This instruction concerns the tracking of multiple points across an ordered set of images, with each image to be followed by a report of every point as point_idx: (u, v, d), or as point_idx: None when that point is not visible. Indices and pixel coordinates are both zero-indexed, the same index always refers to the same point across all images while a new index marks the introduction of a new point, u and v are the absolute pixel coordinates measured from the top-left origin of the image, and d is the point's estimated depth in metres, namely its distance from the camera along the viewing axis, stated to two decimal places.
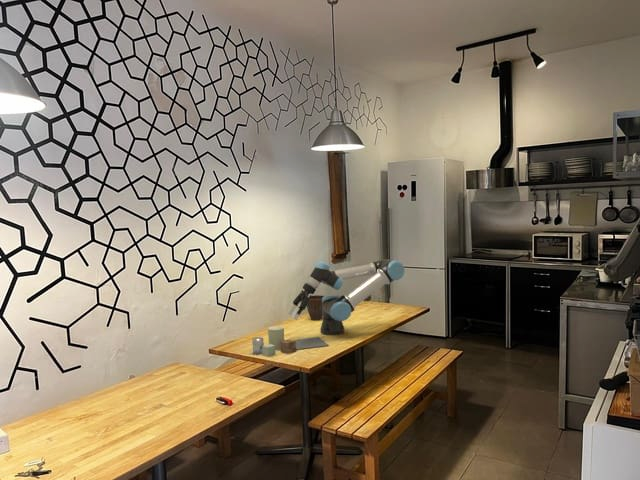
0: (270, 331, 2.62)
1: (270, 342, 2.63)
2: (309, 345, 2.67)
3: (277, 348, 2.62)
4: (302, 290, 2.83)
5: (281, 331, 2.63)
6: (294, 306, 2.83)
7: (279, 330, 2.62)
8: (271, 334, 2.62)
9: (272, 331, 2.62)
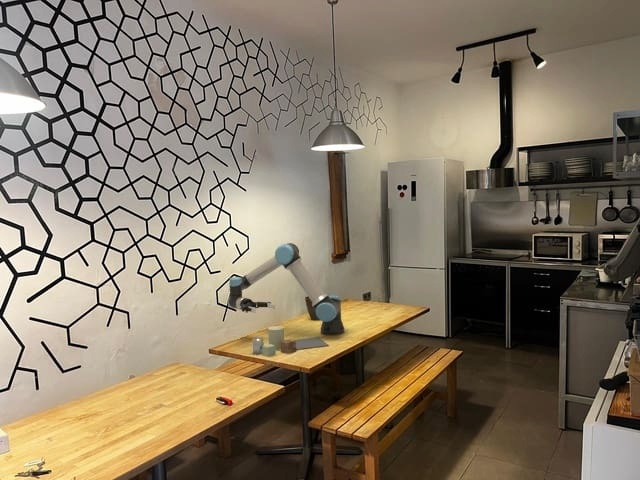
0: (270, 331, 2.62)
1: (270, 342, 2.63)
2: (309, 345, 2.67)
3: (277, 348, 2.62)
4: None
5: (281, 331, 2.63)
6: (268, 305, 2.81)
7: (279, 330, 2.62)
8: (271, 334, 2.62)
9: (272, 331, 2.62)
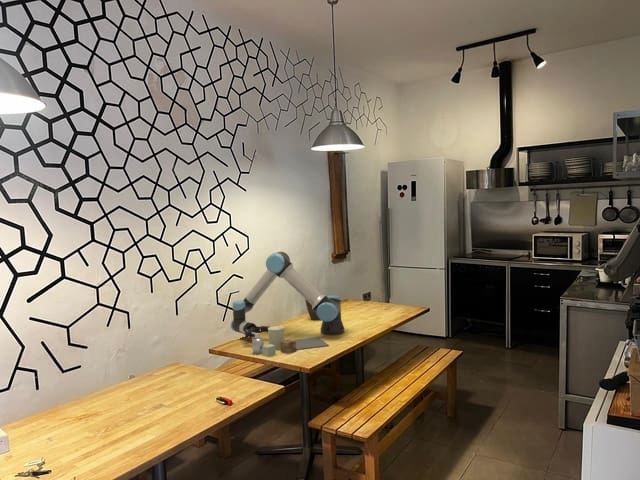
0: (270, 331, 2.62)
1: (270, 342, 2.63)
2: (309, 345, 2.67)
3: (277, 348, 2.62)
4: None
5: (281, 331, 2.63)
6: None
7: (279, 330, 2.62)
8: (271, 334, 2.62)
9: (272, 331, 2.62)
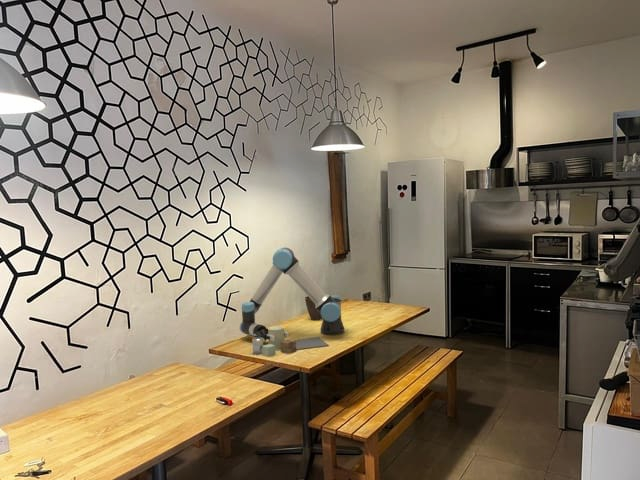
0: (270, 331, 2.62)
1: (270, 342, 2.63)
2: (309, 345, 2.67)
3: (277, 348, 2.62)
4: None
5: (281, 331, 2.63)
6: None
7: (279, 330, 2.62)
8: (271, 334, 2.62)
9: (272, 331, 2.62)
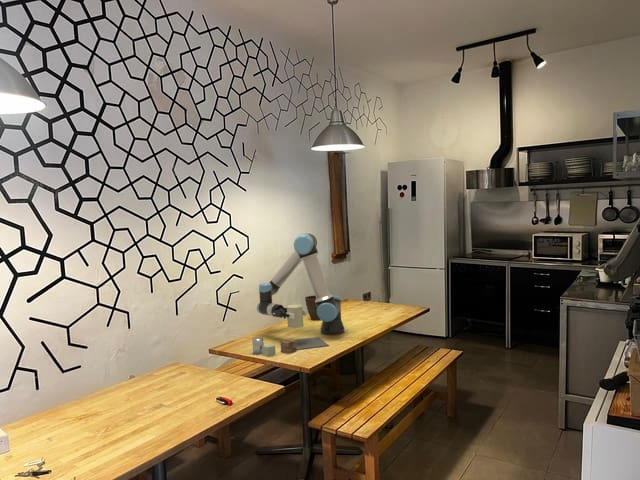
0: (289, 309, 2.67)
1: (289, 320, 2.67)
2: (309, 345, 2.67)
3: (296, 326, 2.66)
4: None
5: (300, 309, 2.67)
6: None
7: (298, 308, 2.66)
8: (290, 312, 2.66)
9: (291, 309, 2.66)
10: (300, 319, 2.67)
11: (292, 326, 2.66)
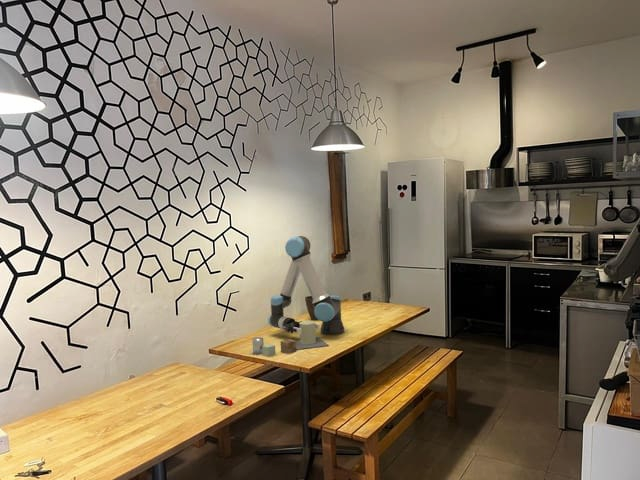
0: (302, 325, 2.70)
1: (302, 336, 2.71)
2: (309, 345, 2.67)
3: (309, 342, 2.69)
4: None
5: (312, 325, 2.70)
6: None
7: (311, 324, 2.70)
8: (303, 328, 2.70)
9: (304, 325, 2.69)
10: (312, 335, 2.71)
11: (305, 342, 2.70)
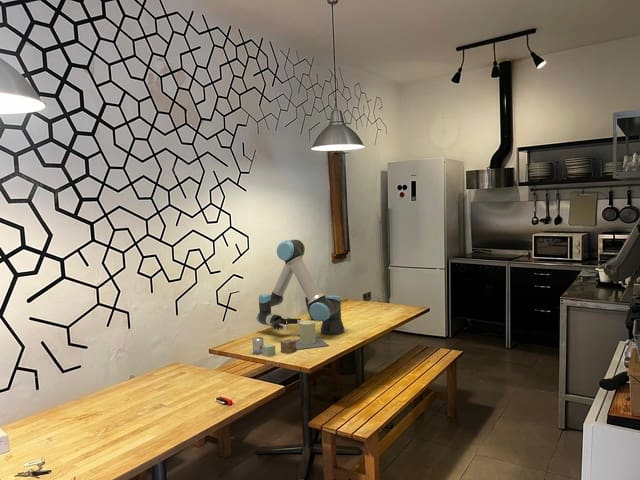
0: (302, 325, 2.70)
1: (302, 336, 2.71)
2: (309, 345, 2.67)
3: (309, 342, 2.69)
4: (286, 321, 2.95)
5: (312, 325, 2.71)
6: (298, 322, 2.88)
7: (311, 324, 2.70)
8: (303, 328, 2.70)
9: (304, 325, 2.69)
10: (312, 335, 2.71)
11: (305, 342, 2.70)
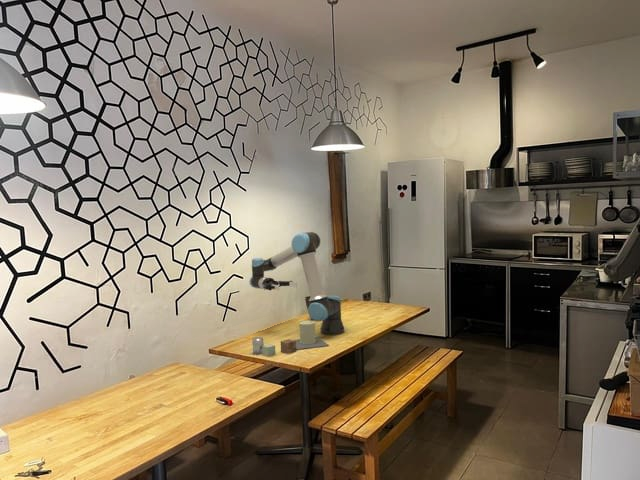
0: (302, 325, 2.70)
1: (302, 336, 2.70)
2: (309, 345, 2.67)
3: (309, 342, 2.69)
4: (279, 284, 2.99)
5: (312, 325, 2.70)
6: (290, 284, 2.92)
7: (311, 324, 2.70)
8: (303, 328, 2.70)
9: (304, 325, 2.69)
10: (312, 335, 2.71)
11: (305, 342, 2.70)
